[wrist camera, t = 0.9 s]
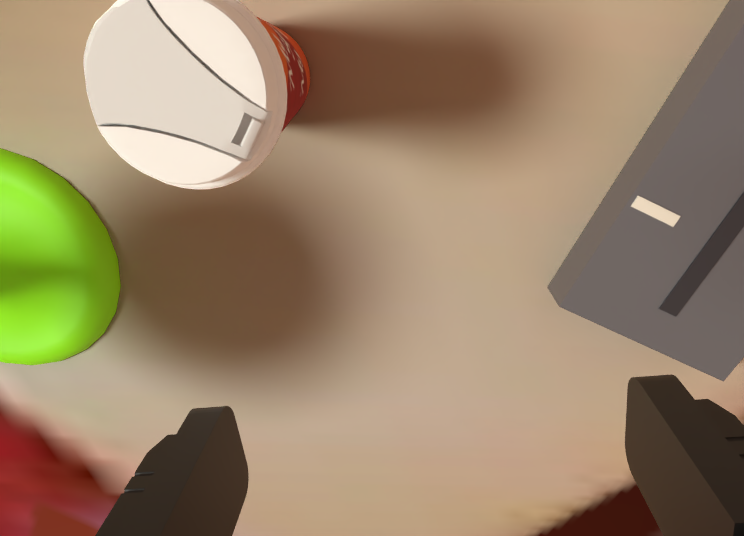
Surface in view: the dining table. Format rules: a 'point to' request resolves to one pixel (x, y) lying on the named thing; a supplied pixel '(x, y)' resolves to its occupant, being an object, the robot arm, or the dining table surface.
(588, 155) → the dining table surface
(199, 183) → the paper cup
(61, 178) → the wineglass
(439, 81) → the dining table surface
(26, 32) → the dining table surface
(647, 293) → the console
